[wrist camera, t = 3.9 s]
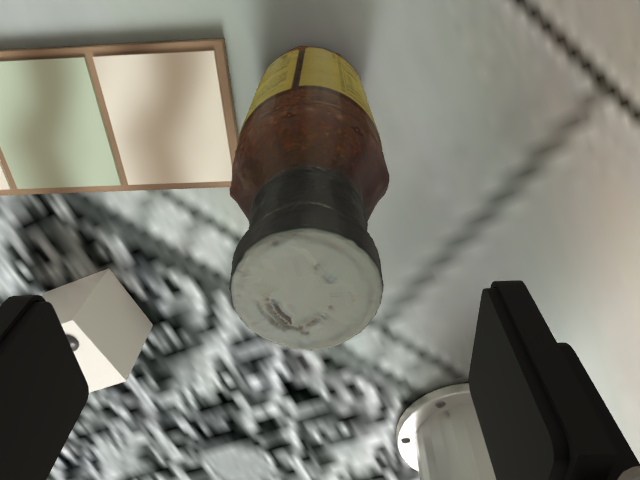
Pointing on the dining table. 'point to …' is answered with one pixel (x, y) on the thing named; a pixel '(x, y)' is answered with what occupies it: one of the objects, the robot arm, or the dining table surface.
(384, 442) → the dining table surface
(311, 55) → the sauce bottle
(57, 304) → the die
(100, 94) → the board
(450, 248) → the dining table surface
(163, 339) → the dining table surface
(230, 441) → the dining table surface
